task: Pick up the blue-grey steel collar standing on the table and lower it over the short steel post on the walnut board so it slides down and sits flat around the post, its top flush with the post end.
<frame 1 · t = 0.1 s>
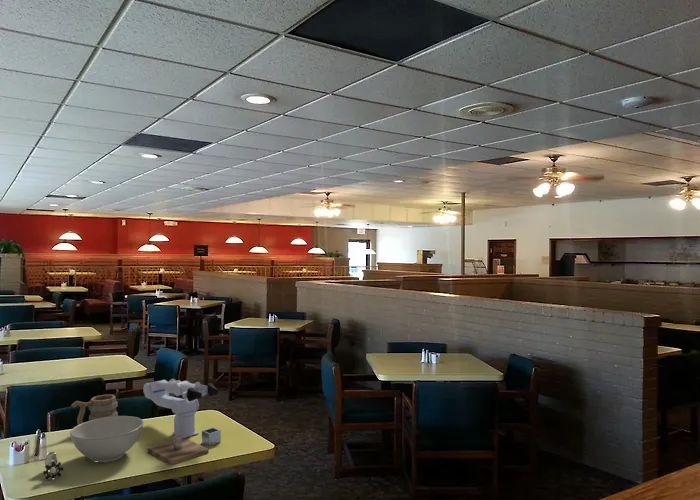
hand: (209, 393, 225), 22 cm above the table, tool horizontal, fingers open, 7 cm apart
tankard: (95, 429, 246), on the table
decorative bowl: (108, 457, 214), on the table
collar: (211, 442, 228), on the table
valve: (52, 474, 198), on the table
post board: (177, 451, 217), on the table
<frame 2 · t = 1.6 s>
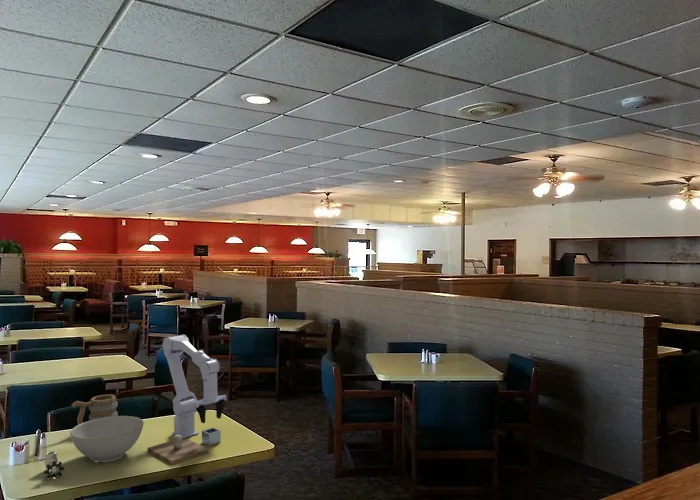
hand: (211, 420, 228), 9 cm above the table, tool pointing down, fingers open, 7 cm apart
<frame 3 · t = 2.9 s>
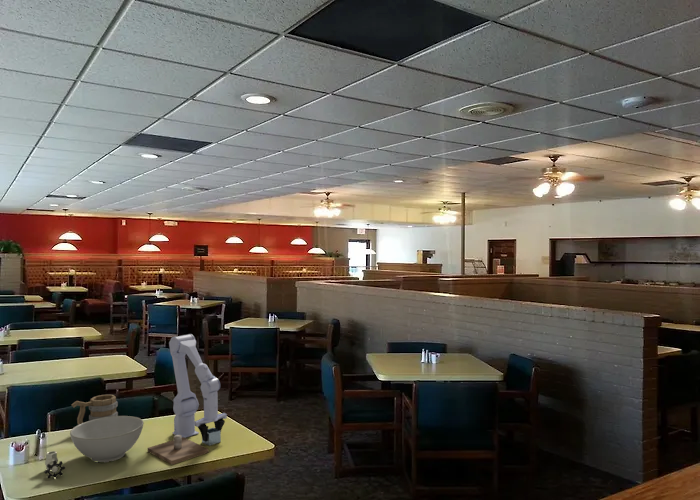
hand: (211, 439, 228), 1 cm above the table, tool pointing down, fingers closed on collar, 6 cm apart
collar: (211, 442, 228), on the table, touching gripper
everything else where it was.
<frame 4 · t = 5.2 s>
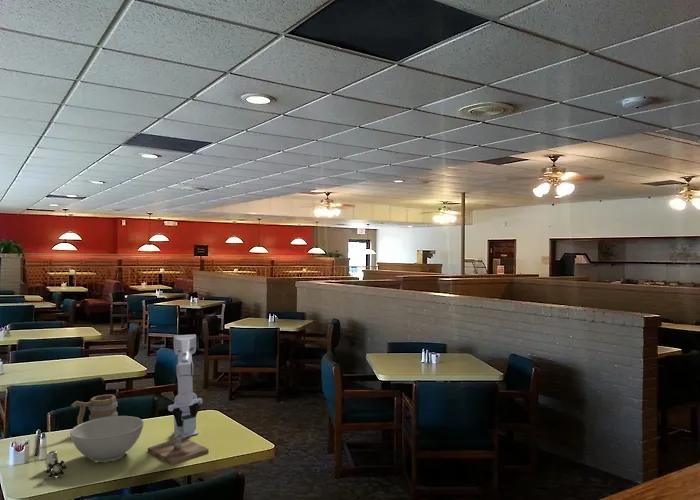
hand: (185, 424, 220), 10 cm above the table, tool pointing down, fingers closed on collar, 6 cm apart
collar: (186, 429, 220), point 8 cm above the table, touching gripper
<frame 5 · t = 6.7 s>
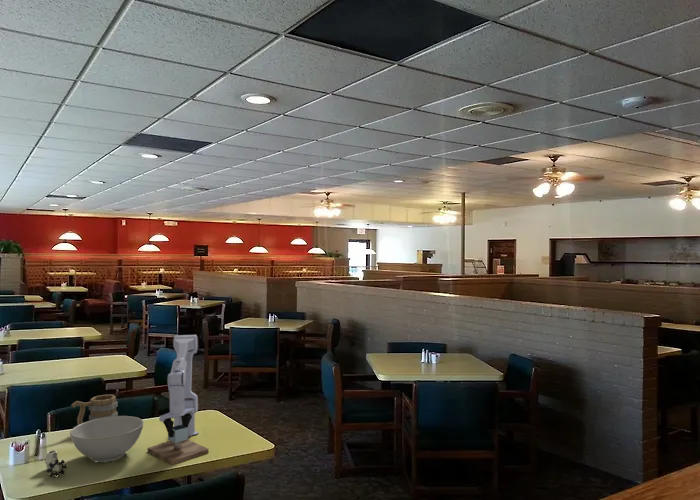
hand: (177, 434, 217), 7 cm above the table, tool pointing down, fingers closed on collar, 6 cm apart
collar: (178, 439, 217), point 5 cm above the table, touching gripper
when the fingers open (5 cm above the table, at t = 7.8 s): collar drops 1 cm, resting on post board.
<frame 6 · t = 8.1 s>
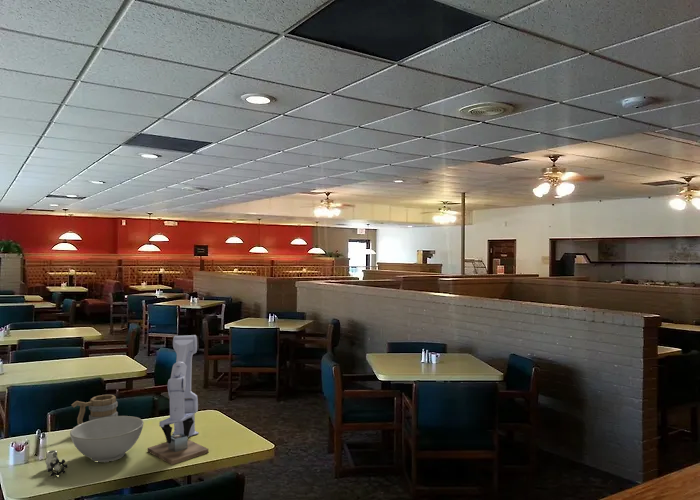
hand: (177, 440, 217), 5 cm above the table, tool pointing down, fingers open, 7 cm apart
collar: (177, 448, 217), point 1 cm above the table, touching post board
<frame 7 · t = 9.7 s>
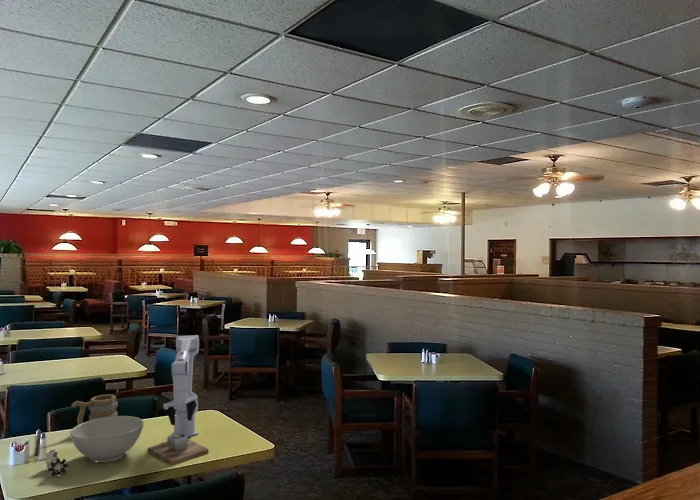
hand: (181, 422, 223), 10 cm above the table, tool pointing down, fingers open, 7 cm apart
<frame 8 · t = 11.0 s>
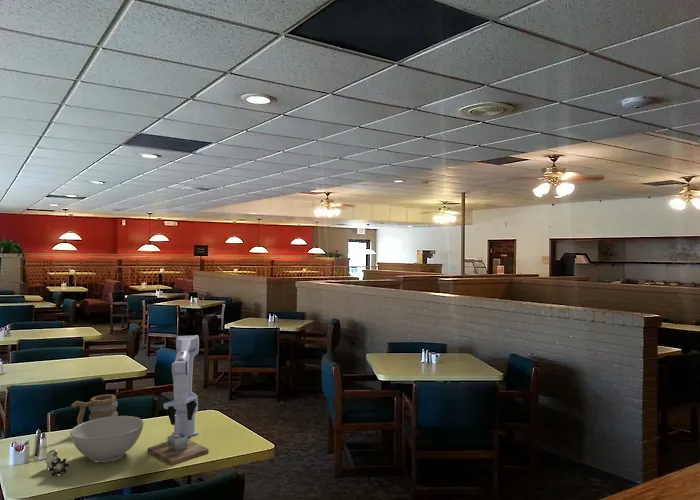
hand: (181, 422, 223), 10 cm above the table, tool pointing down, fingers open, 7 cm apart
at the end: collar 0.2 cm off-centre on the post board, point 1.5 cm above the post board's base; collar tilted 0°; the gripper is holding nothing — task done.
